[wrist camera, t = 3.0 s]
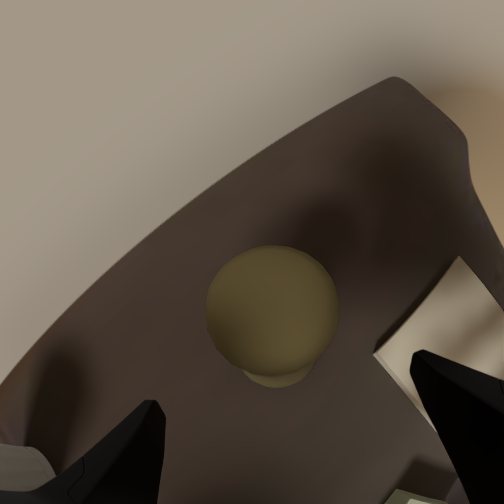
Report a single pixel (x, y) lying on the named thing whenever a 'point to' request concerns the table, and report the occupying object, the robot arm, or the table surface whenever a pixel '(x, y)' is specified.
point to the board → (449, 330)
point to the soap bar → (410, 498)
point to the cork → (272, 313)
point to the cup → (23, 468)
